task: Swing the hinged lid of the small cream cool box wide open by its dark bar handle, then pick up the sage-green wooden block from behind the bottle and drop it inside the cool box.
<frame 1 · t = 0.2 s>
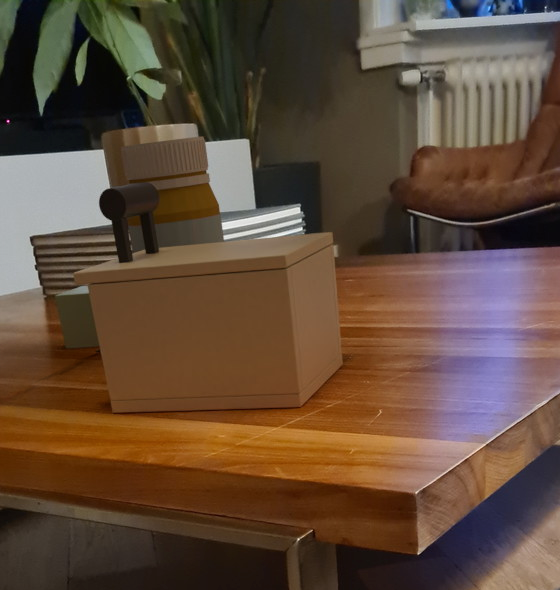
block: (104, 346, 80), on the table
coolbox: (232, 388, 61), on the table
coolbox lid: (203, 221, 56), point 10 cm above the table, hinge at 0.0°
bottle: (194, 353, 74), on the table
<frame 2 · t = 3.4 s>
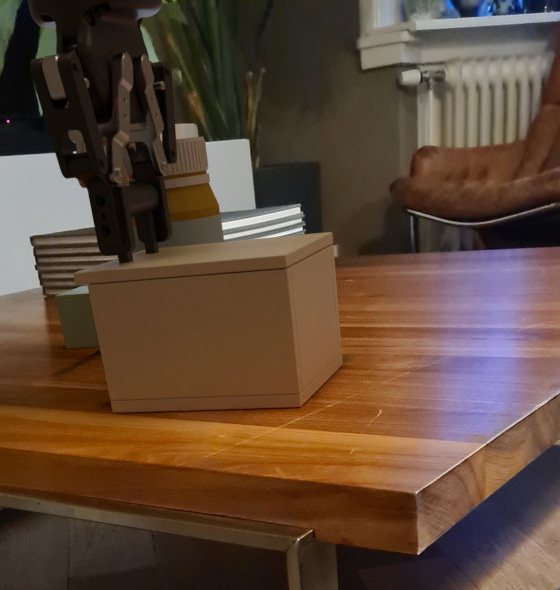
hand: (137, 246, 58), 9 cm above the table, tool pointing down, fingers closed on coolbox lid, 5 cm apart
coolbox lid: (203, 221, 56), point 10 cm above the table, hinge at 0.0°, touching gripper
everything else where it was.
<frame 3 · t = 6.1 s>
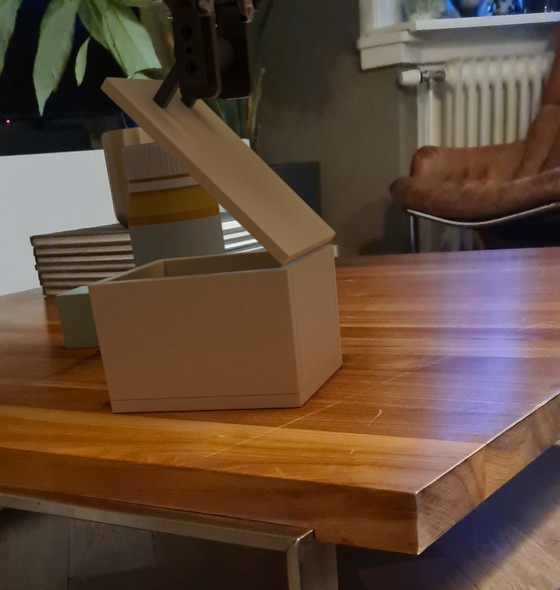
hand: (219, 97, 53), 17 cm above the table, tool pointing down, fingers closed on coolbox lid, 5 cm apart
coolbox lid: (250, 136, 53), point 15 cm above the table, hinge at 46.5°, touching gripper
everything else where it was.
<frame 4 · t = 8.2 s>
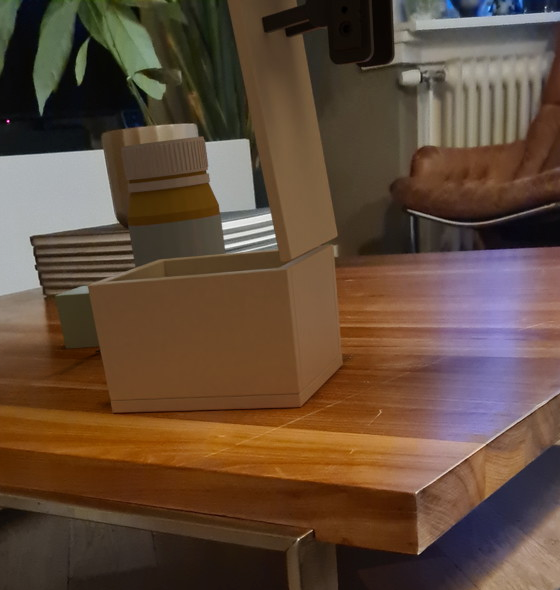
hand: (363, 62, 50), 17 cm above the table, tool pointing down, fingers closed on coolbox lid, 5 cm apart
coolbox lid: (323, 115, 51), point 15 cm above the table, hinge at 83.8°, touching gripper
everything else where it was.
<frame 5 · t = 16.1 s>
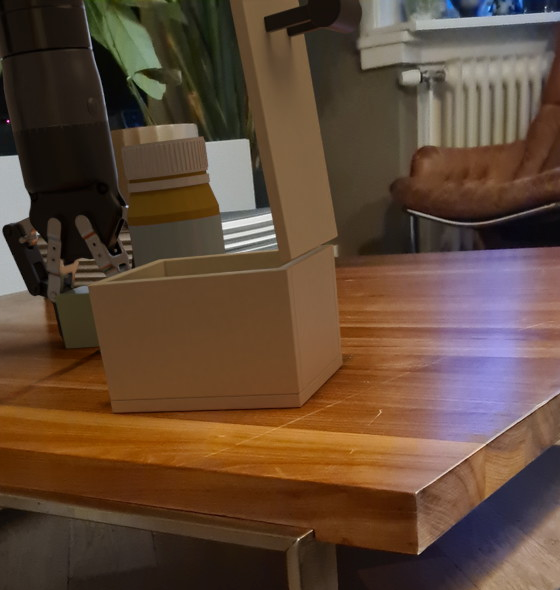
hand: (103, 341, 80), 0 cm above the table, tool pointing down, fingers closed on block, 4 cm apart
block: (104, 346, 80), on the table, touching gripper
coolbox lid: (324, 115, 51), point 15 cm above the table, hinge at 84.3°
everything else where it was.
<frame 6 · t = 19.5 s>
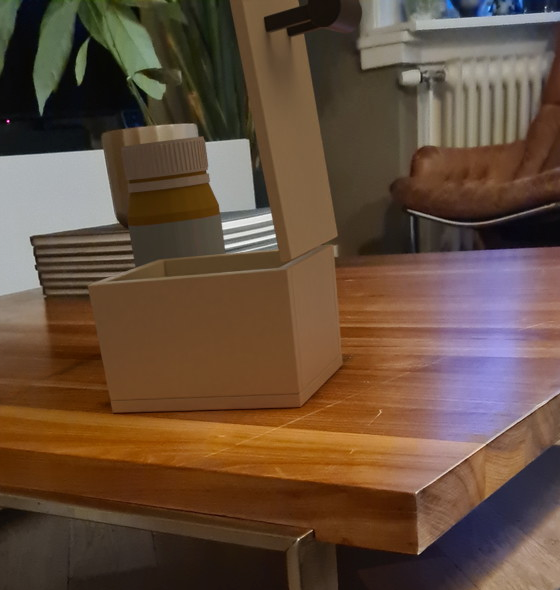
when the fingers open (13 cm above the table, at t = 23.0 s): block drops 12 cm, resting on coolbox.
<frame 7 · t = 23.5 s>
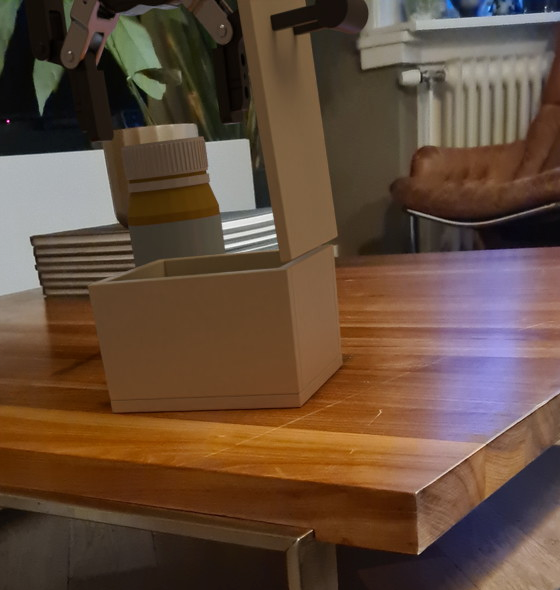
hand: (165, 132, 54), 15 cm above the table, tool pointing down, fingers open, 8 cm apart
block: (204, 376, 61), point 1 cm above the table, touching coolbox
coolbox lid: (327, 116, 51), point 15 cm above the table, hinge at 86.1°
everything else where it was.
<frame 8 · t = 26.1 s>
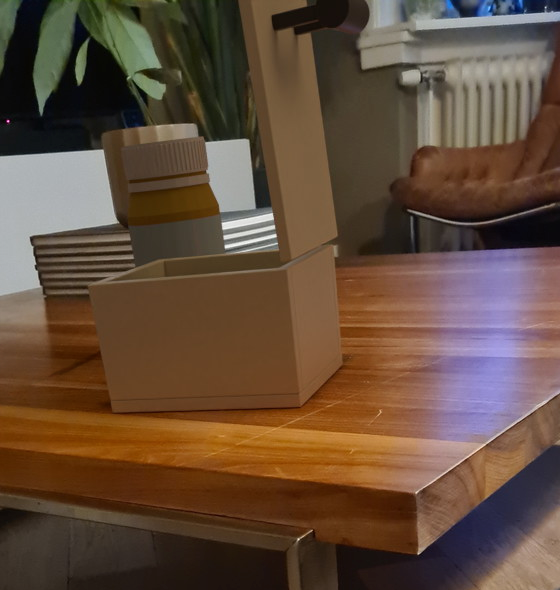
nothing on the table moved.
at the end: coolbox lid at +86° (first picture: +0°); block inside the target area in the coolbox (1.9 cm from its centre), point 0.8 cm above the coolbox's base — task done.
